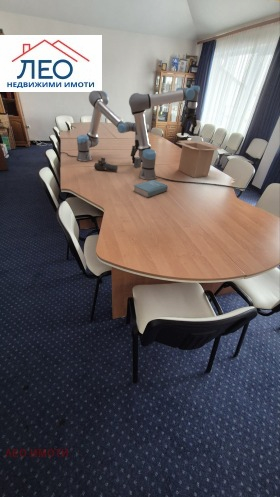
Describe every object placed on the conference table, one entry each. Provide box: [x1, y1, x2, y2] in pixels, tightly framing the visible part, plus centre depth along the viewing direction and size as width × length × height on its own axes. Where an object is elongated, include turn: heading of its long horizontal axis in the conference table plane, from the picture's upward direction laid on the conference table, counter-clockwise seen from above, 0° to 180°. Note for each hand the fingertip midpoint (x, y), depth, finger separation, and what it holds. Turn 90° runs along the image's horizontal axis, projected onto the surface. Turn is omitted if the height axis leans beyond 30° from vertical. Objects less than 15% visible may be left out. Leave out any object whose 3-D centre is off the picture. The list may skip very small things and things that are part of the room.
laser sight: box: [93, 157, 119, 173], centre depth 211 cm, size 10×22×10 cm, turn 78°
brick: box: [133, 156, 142, 169], centre depth 228 cm, size 5×6×9 cm
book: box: [133, 179, 169, 198], centre depth 177 cm, size 23×16×5 cm
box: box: [176, 139, 222, 179], centre depth 217 cm, size 44×36×27 cm
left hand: (137, 162), depth 229 cm, fingers open, 10 cm apart
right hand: (187, 135), depth 203 cm, fingers open, 13 cm apart
